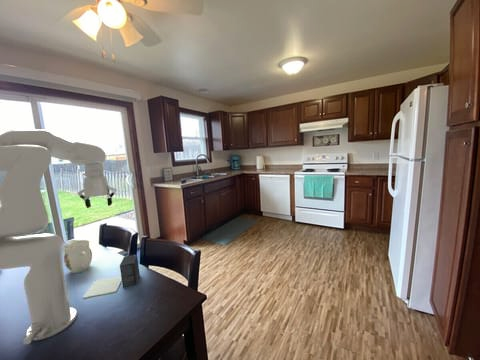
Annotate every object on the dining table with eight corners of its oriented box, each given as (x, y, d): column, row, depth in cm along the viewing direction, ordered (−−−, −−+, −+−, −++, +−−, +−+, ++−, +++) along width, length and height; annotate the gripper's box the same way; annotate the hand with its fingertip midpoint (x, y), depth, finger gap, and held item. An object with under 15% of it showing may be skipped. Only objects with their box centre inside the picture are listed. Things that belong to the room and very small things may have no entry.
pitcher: (75, 280, 94) (70, 252, 93) (61, 270, 104) (56, 244, 103) (101, 269, 103) (97, 243, 102) (86, 260, 113) (82, 236, 112)
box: (126, 278, 94) (123, 256, 93) (140, 275, 96) (137, 254, 95) (122, 288, 87) (119, 265, 86) (137, 285, 89) (134, 262, 87)
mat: (116, 292, 85) (115, 291, 85) (82, 298, 82) (82, 297, 82) (124, 275, 96) (124, 275, 96) (95, 281, 93) (95, 280, 93)
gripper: (71, 175, 100) (76, 210, 102) (111, 173, 104) (115, 206, 106) (78, 174, 107) (83, 206, 109) (116, 172, 111) (119, 203, 113)
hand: (99, 206), depth 107 cm, fingers open, 9 cm apart
